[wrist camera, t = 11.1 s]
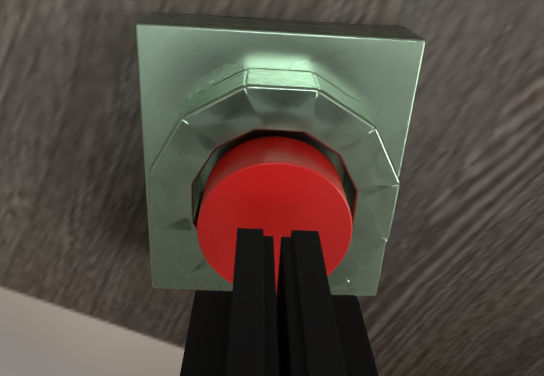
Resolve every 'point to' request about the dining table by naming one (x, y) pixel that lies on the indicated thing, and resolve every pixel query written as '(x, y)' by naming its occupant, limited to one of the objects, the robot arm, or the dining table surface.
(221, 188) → the button
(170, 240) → the switch block
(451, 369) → the dining table surface
